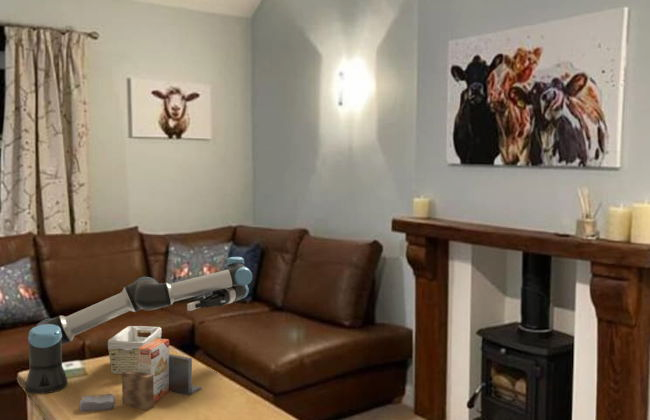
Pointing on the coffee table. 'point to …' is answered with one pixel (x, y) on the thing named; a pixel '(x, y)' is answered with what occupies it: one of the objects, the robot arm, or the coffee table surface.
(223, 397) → the coffee table surface
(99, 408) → the stone block
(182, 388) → the bookend
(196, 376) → the coffee table surface
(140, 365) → the cracker box
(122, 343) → the storage basket
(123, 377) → the end block
